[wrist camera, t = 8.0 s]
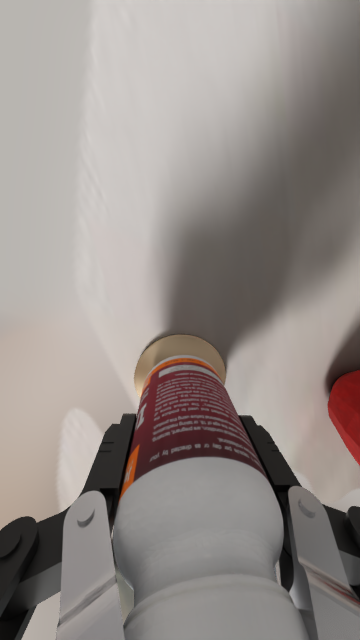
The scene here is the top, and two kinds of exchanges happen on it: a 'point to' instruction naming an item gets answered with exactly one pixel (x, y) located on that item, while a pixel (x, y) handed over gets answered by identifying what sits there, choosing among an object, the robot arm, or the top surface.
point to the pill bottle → (199, 518)
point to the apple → (347, 410)
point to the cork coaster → (175, 347)
